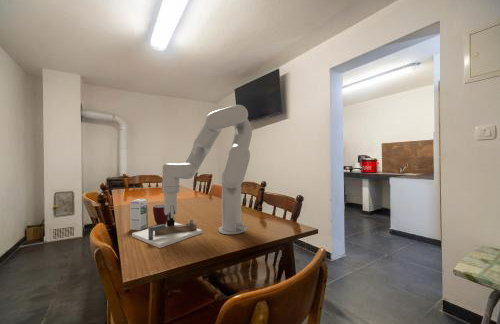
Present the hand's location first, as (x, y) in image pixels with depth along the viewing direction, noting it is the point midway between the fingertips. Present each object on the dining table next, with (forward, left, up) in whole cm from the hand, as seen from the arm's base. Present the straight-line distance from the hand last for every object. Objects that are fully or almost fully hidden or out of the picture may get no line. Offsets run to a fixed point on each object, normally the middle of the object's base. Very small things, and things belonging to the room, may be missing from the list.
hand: (170, 228), depth 104 cm
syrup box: (+20, +5, -3) cm, 21 cm away
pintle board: (0, +2, -3) cm, 3 cm away
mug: (+18, -6, -3) cm, 19 cm away
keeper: (-4, +9, -1) cm, 10 cm away
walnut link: (-4, 0, -1) cm, 4 cm away
